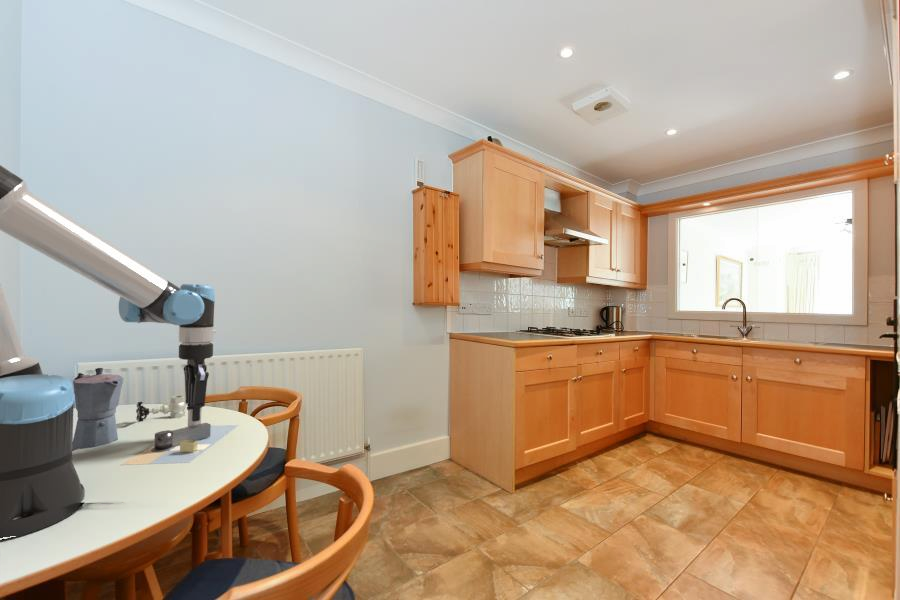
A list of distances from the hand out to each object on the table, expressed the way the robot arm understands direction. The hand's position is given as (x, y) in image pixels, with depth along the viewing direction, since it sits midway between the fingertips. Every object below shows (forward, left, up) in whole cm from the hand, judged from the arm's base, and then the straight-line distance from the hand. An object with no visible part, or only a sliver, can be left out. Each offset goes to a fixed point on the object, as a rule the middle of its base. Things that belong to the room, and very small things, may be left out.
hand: (194, 432), depth 100 cm
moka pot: (-1, +23, -3) cm, 23 cm away
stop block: (-10, -4, -1) cm, 11 cm away
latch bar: (-4, +1, -1) cm, 4 cm away
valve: (+21, +20, -3) cm, 29 cm away
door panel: (-3, 0, -3) cm, 4 cm away
